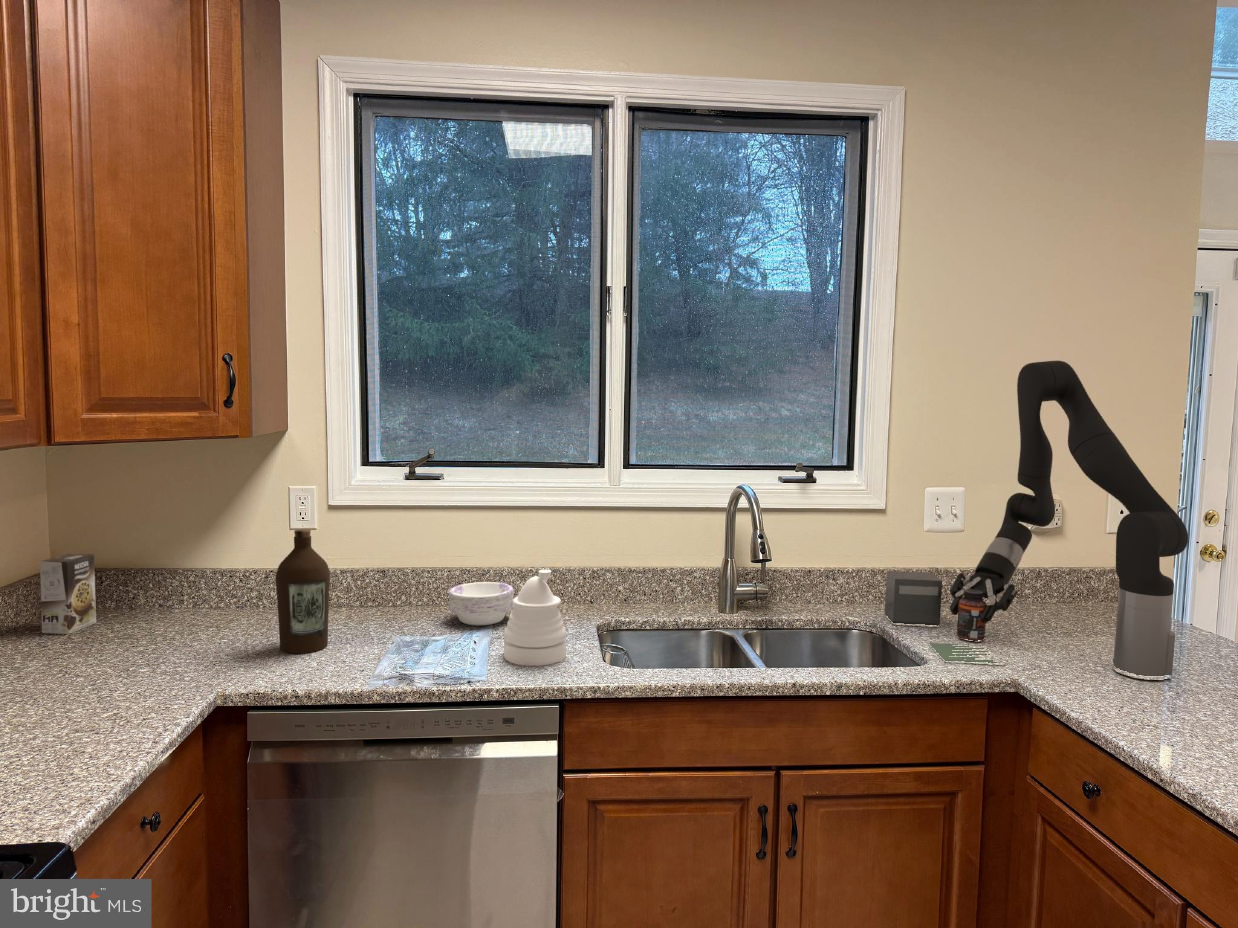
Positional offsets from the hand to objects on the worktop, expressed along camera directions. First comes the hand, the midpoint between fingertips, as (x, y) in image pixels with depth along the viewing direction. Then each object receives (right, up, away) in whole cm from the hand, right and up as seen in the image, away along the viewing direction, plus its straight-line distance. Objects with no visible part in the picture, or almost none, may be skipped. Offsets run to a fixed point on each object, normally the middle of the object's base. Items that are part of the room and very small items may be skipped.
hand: (967, 616), depth 183 cm
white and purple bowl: (-113, -3, +9) cm, 113 cm away
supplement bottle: (+1, -6, +1) cm, 6 cm away
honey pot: (-97, -5, -16) cm, 99 cm away
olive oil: (-146, -4, -14) cm, 147 cm away
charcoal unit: (-7, -4, +15) cm, 17 cm away
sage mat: (-5, -6, -11) cm, 13 cm away
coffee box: (-202, -2, -4) cm, 203 cm away
